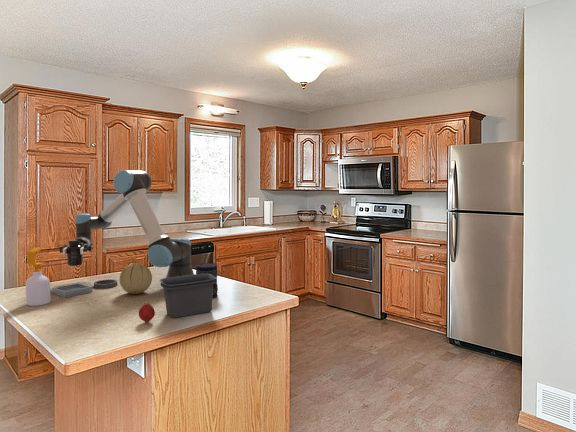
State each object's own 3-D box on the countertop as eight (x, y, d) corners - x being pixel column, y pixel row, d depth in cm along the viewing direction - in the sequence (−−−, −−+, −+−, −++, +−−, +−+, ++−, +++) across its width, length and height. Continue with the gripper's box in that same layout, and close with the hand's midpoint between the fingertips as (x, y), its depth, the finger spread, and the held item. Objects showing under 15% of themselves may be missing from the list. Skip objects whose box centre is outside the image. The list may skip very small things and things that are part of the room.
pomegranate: (141, 320, 163) (140, 299, 162) (156, 319, 163) (156, 299, 163) (137, 325, 157) (136, 304, 156) (152, 324, 158) (152, 303, 157)
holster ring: (121, 285, 218) (121, 281, 218) (101, 289, 210) (101, 285, 210) (110, 282, 225) (109, 278, 225) (89, 286, 216) (89, 282, 216)
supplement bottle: (85, 263, 209) (85, 239, 208) (77, 266, 202) (76, 241, 201) (72, 263, 209) (72, 239, 209) (64, 265, 203) (63, 241, 202)
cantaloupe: (126, 299, 192) (125, 266, 191) (115, 292, 203) (114, 262, 202) (157, 293, 202) (156, 262, 200) (145, 288, 213) (145, 258, 212)
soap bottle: (55, 301, 188) (52, 247, 186) (37, 307, 180) (34, 250, 178) (40, 299, 191) (37, 246, 189) (21, 305, 183) (18, 249, 181)
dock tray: (92, 291, 205) (92, 286, 205) (64, 297, 195) (64, 292, 195) (79, 287, 213) (79, 282, 213) (52, 293, 203) (51, 287, 203)
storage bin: (166, 321, 161) (166, 285, 160) (157, 311, 175) (156, 277, 173) (219, 313, 172) (219, 278, 171) (206, 303, 185) (206, 271, 184)
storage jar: (222, 295, 200) (221, 263, 198) (209, 300, 191) (209, 267, 189) (204, 292, 204) (204, 262, 203) (191, 297, 195) (191, 265, 194)
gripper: (101, 251, 225) (95, 258, 203) (60, 252, 220) (49, 260, 198) (100, 237, 225) (94, 243, 203) (59, 238, 219) (48, 244, 197)
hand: (72, 251), depth 200 cm, fingers closed on supplement bottle, 7 cm apart
